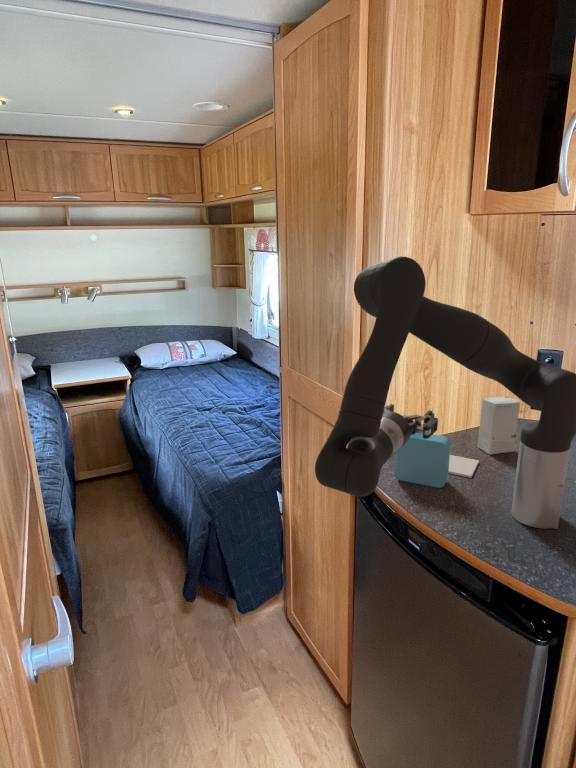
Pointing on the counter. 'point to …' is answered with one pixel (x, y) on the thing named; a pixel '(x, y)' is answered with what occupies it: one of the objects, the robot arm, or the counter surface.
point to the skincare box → (498, 425)
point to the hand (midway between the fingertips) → (411, 411)
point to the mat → (462, 466)
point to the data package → (424, 460)
